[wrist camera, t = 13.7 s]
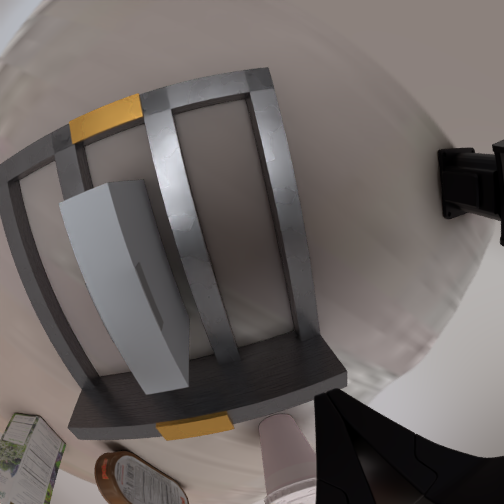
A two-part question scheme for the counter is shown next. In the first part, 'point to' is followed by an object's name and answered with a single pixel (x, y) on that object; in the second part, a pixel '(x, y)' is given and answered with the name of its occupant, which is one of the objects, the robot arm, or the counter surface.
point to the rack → (196, 269)
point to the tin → (135, 481)
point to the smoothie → (287, 462)
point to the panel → (131, 281)
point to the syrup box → (28, 461)
